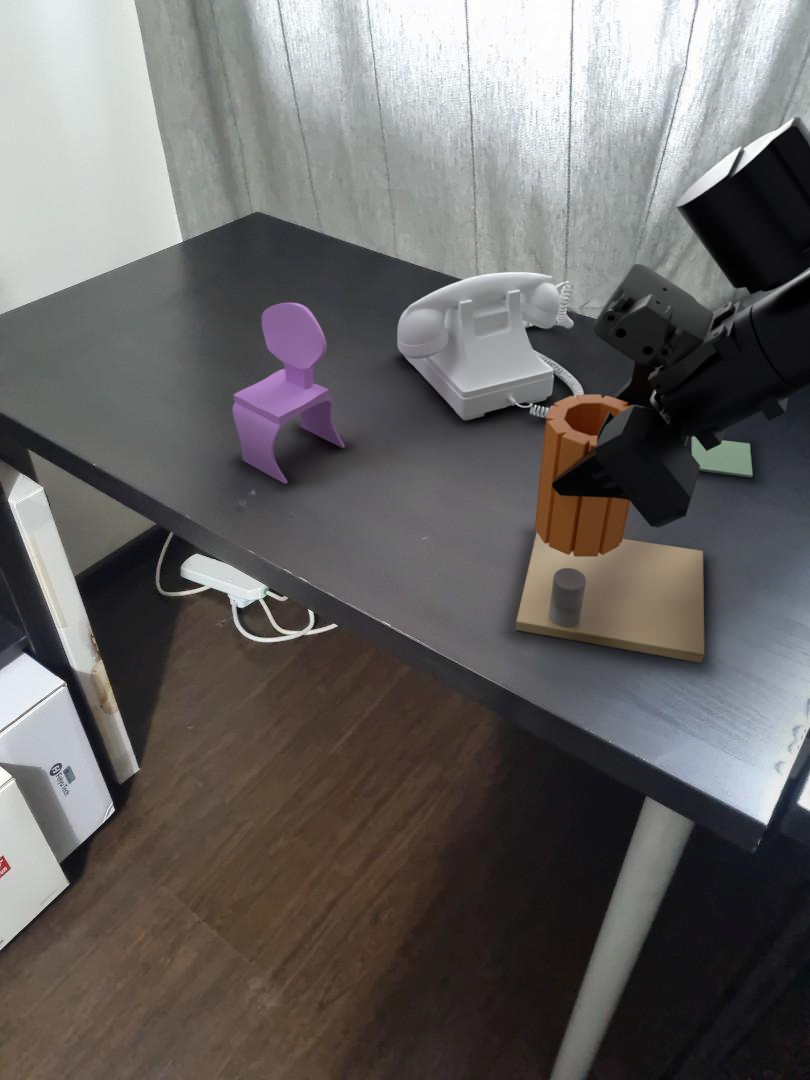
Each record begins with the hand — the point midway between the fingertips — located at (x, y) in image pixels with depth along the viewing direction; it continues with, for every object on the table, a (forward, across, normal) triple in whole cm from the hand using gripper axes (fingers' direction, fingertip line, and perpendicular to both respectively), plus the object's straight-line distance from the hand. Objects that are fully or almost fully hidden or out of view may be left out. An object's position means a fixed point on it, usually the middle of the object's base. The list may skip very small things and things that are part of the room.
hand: (569, 461), depth 58 cm
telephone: (+20, -32, -1) cm, 38 cm away
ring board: (+6, -3, +13) cm, 15 cm away
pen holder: (+3, 0, +5) cm, 6 cm away
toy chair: (+31, -10, -11) cm, 34 cm away
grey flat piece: (+3, -26, +16) cm, 31 cm away
